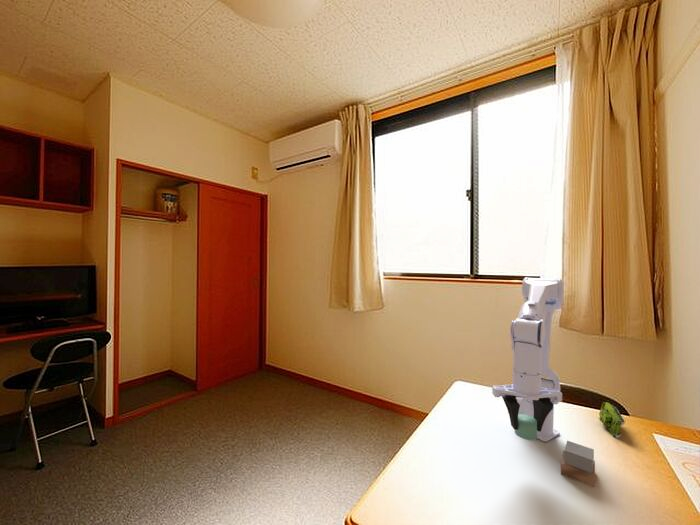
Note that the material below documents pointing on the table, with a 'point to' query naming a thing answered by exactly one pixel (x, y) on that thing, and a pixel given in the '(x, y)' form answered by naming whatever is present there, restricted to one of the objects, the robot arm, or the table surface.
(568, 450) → the gray block
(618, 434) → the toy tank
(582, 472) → the walnut block
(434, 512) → the table surface
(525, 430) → the green cylinder
